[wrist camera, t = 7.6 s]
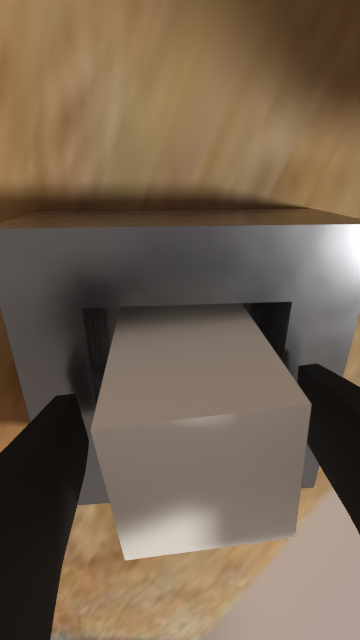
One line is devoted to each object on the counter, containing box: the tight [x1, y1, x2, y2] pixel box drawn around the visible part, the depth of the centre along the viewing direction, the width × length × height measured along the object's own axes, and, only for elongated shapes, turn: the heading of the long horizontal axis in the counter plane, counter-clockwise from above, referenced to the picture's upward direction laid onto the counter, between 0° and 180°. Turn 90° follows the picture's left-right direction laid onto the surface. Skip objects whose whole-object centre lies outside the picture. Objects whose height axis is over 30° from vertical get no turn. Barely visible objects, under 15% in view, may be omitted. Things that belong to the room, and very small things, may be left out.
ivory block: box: [91, 303, 312, 560], centre depth 11 cm, size 4×4×8 cm
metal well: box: [0, 208, 360, 505], centre depth 13 cm, size 11×11×4 cm
